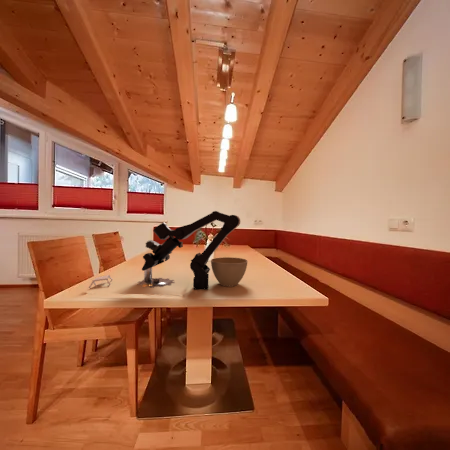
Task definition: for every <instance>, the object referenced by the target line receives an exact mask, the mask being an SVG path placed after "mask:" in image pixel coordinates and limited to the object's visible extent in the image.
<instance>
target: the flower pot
mask: <svg viewBox="0 0 450 450" xmlns="http://www.w3.org/2000/svg"><path fill="white" fill-rule="evenodd" d="M210 263H211V264H210V266H211V269H212V273H213V276H214V277H215V279H216V280H217V282H218V283H219V284H220V286H224V287H235V286H237V285H239V283H240V282H241V281H242V279H243V278H244V277H245V276H244V275H245V273H246V270H247V266H248V260H247V259H245V258H241V257H229V256H228V257H226V256H224V257H214V258H211V260H210Z"/></svg>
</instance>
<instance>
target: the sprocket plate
mask: <svg viewBox="0 0 450 450" xmlns="http://www.w3.org/2000/svg"><path fill="white" fill-rule="evenodd" d="M175 283H176V282H175V280H174V279H170V278H163V277H158V278H157V277H155V278H153V277H152V281H149V282H145V281H144V279H142V280H141V281H137V286H141V287H143V288H144V287H146V288H147V287H149V288H152V289H153V288H157V287H158V288H164V287H165V286H172V284H175Z"/></svg>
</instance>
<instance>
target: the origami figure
mask: <svg viewBox="0 0 450 450" xmlns="http://www.w3.org/2000/svg"><path fill="white" fill-rule="evenodd" d="M108 279H110V281H109V280H108ZM100 281H107V283H108V285H107V286H108V287H110V286H111V284H112V283H111V282H112V281H113V278H112V277H111V275H110V274H107V275H103V276H98V277H97V276H96V277H95V278H93V280H92V281H91V283H90V284H89V286H88V289H91V288H92V285H94V286H95V287H97V284H96V282H100Z"/></svg>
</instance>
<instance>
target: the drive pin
mask: <svg viewBox="0 0 450 450" xmlns="http://www.w3.org/2000/svg"><path fill="white" fill-rule="evenodd" d="M145 262H146V261H145V260H144V262H143V263H144V264H145ZM144 264H143V265H144ZM152 278H153V267H151V268H149V269H146V270H144V272H143V280H144V281H145V282H149V281H152Z"/></svg>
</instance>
